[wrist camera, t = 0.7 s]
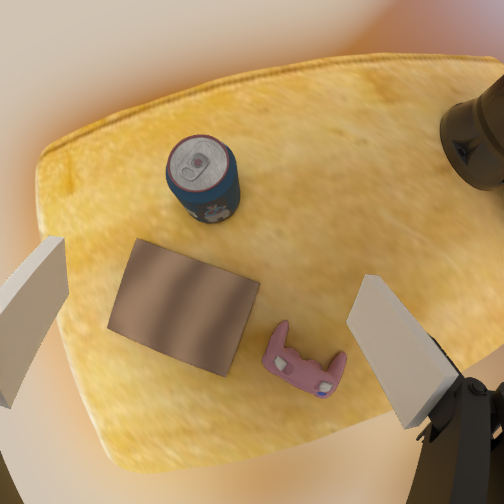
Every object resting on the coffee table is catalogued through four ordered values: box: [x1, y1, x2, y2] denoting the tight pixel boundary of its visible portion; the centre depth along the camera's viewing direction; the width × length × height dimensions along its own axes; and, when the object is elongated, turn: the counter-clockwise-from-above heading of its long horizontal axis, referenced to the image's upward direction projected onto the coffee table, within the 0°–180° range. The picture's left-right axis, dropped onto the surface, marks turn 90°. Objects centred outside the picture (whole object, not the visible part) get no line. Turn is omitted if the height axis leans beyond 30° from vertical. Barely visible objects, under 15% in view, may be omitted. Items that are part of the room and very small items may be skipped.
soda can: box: [166, 135, 240, 223], centre depth 34 cm, size 7×7×12 cm
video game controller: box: [262, 320, 347, 399], centre depth 35 cm, size 10×5×7 cm, turn 60°
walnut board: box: [107, 238, 260, 377], centre depth 37 cm, size 16×12×2 cm
